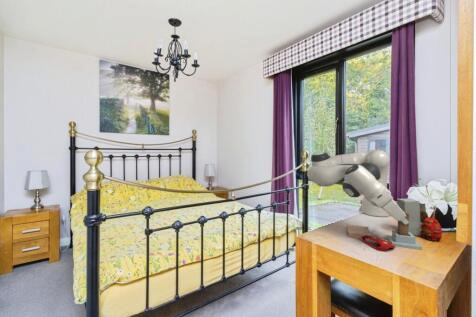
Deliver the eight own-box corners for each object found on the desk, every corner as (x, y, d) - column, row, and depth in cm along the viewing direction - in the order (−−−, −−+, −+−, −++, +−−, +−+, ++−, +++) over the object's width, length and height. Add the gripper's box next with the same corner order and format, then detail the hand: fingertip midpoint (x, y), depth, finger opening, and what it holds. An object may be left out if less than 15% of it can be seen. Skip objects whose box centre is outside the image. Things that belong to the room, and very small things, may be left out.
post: (397, 235, 102) (398, 211, 102) (405, 236, 101) (406, 212, 101) (399, 237, 99) (400, 213, 99) (408, 238, 98) (409, 214, 98)
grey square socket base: (386, 237, 106) (386, 228, 106) (413, 240, 103) (413, 231, 103) (392, 246, 97) (392, 236, 97) (422, 249, 94) (422, 239, 93)
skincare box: (421, 236, 108) (422, 201, 108) (403, 235, 110) (404, 200, 109) (411, 230, 116) (413, 198, 116) (395, 229, 118) (396, 197, 117)
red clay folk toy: (416, 236, 108) (417, 203, 108) (427, 235, 110) (428, 202, 110) (434, 242, 101) (436, 207, 101) (446, 241, 103) (447, 206, 103)
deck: (346, 228, 118) (346, 224, 118) (367, 231, 115) (367, 226, 115) (348, 236, 107) (348, 232, 107) (371, 239, 104) (371, 235, 104)
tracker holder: (393, 242, 99) (399, 244, 90) (390, 252, 99) (396, 256, 90) (360, 231, 104) (363, 232, 95) (358, 241, 104) (360, 243, 95)
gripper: (369, 196, 113) (392, 219, 110) (377, 205, 94) (406, 234, 91) (380, 187, 112) (404, 210, 108) (391, 195, 92) (420, 223, 89)
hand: (405, 221), depth 100 cm, fingers closed on post, 3 cm apart
